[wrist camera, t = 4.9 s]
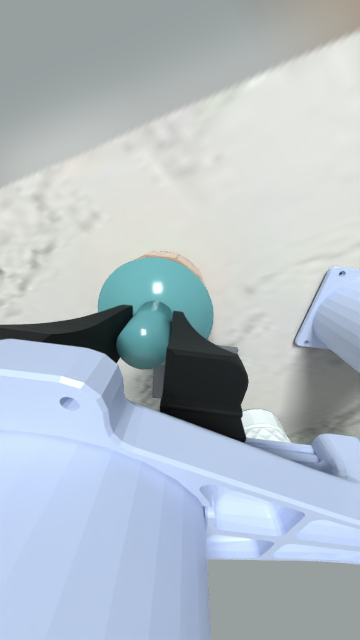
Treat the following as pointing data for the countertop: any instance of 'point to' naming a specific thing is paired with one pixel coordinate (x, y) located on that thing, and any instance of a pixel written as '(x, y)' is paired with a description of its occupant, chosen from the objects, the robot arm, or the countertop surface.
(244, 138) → the countertop surface
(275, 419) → the white cup
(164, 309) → the lid
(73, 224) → the countertop surface
